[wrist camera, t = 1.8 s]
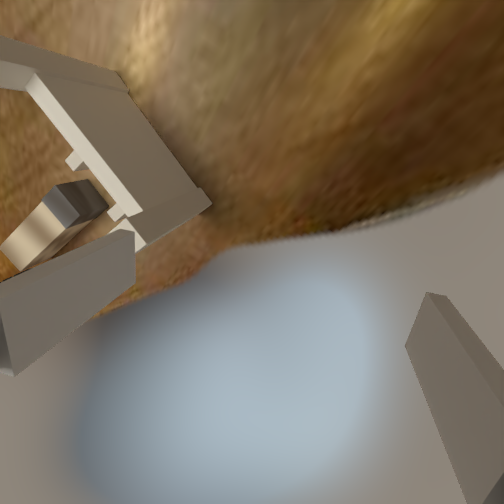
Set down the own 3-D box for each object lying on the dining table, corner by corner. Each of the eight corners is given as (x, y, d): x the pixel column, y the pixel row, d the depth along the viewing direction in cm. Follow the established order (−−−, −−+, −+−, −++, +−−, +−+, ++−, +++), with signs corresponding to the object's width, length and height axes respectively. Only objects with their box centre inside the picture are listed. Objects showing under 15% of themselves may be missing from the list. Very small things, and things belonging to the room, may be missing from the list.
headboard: (69, 124, 37) (-80, 117, 23) (115, 71, 34) (-28, 26, 20) (162, 241, 40) (78, 296, 26) (212, 203, 37) (146, 244, 23)
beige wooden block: (51, 258, 45) (19, 272, 40) (31, 235, 44) (-4, 247, 40) (109, 205, 40) (80, 215, 35) (87, 179, 39) (55, 185, 34)
